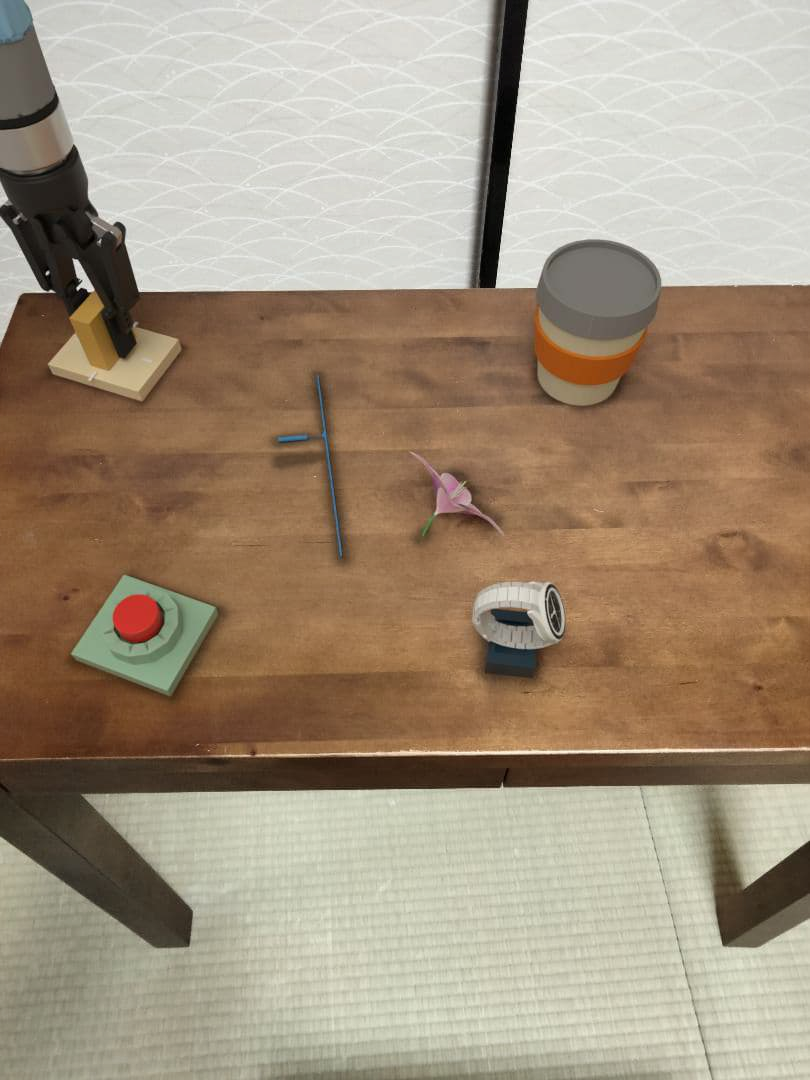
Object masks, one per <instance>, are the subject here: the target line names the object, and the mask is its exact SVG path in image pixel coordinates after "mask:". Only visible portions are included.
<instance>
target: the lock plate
mask: <svg viewBox="0 0 810 1080" xmlns="http://www.w3.org/2000/svg"><path fill="white" fill-rule="evenodd" d="M138 325H139V322H138V321H134V322H133V328H134V331H135V334H136V338H135V340H136V342H137V344H136V345H135V347H134V348H133V349H132V350H131V352H130V353H129V354H128V355H127V356H126V358H125V359H122V358H119V359H118V360H117V361H116V363H115V364H114V365H113V366H112V368H111V369H110V370H109V371H107V370H104V369H101V368H97V367H94V366H91V365H90V364H89V361H88V359H87V357H86V355H85V352H84V350H83V348H82V346H81V343H80V341H79V339H78V337H77V334H76V332H75V331H74V333H73V334H72V335H71V337H70V338H69V339H68V340H67V341H66V343H64V345H63V346H62V347H61V348H60V349H59V350H58V352H57V353H56V354H55V355H54V356H53V357H52V359H51V360H49V362H48V363H47V366H48V367H49V370H50V372H51V373H52V375H54V376H58V377H61V378H64V379H67V380H70V381H73V382H78V383H80V384H83V385H87V386H90V387H92V388H93V387H94V388H97V389H100V390H104V391H107V392H109V393H113V394H116V395H120V396H123V397H126V398H129V399H132V400H136V401H139V402H143V401H144V400H145V399H146V397H147V396H148V395H149V394H150V392H151V391H152V390H153V388H154V386H155V385H156V384H157V383H158V382H159V380H160V379H161V378H162V376H163V375H164V374H165V372H166V371H167V370H168V368H169V367H170V365H172V363H173V362H174V360H175V359H176V358H177V357H178V355H179V354H180V352H181V351H182V349H183V348H182V345H181V343H180V339H179V338H176V337H173V336H169V335H165V334H163V333H162V334H161V333H158V332H154V331H152V330H148V329H145V328H140V327H138Z"/></svg>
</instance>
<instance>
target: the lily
mask: <svg viewBox="0 0 810 1080" xmlns="http://www.w3.org/2000/svg"><path fill="white" fill-rule="evenodd" d="M409 453H410V454H411V455H412V456H413V457H414V458H416V459H417V460H418V461H420V463H421V464H422V465H423V466H424V467H425V468H426V469H427V471H428V473H429V475H430V477H431V482H432V485H433V490H434V491H433V492H434V497H435V498H434V499H435V505H436V509H435V511H434V513H433V514H432V516H431V517H430V518H429V520H428V522H427V524H426V526H425V527H424V529H423V532H422V533H421V536H422V537H425V536H426V534H427V532H428V530H429V528H430V526H431V525H432V522H434V520H435V518H436V517H437V516H438V515H439V514H465V515H474V516H478V517H480V518H482V519H484V520H486V521H487V522H488V523H490V524H491V526H493V527H494V528H495V529H496V530H497V532H499V533H500V534H501V535H502V536H503V537H504V538H506V536H505V534H504V532H503V530H502V529H501V528H500V527H499V525H497V523H496V522H495V521H494V520H493V519H492V518H490V517H489V516H487V515H486V514H484V513H482V511H481V510H479V508H477V507H476V506H475V505H474V504H472V503H471V502H472V498H473V497H472V494H471V492H470V491H469V490H468V489H467V488H468V486H465V484H466V483H467V482H468V479H466V480H465V481H463V479H461V480H460V482H459V481H458V479H457V478H456V477H455V476H453V475H452V474H451V473H449V472H443V473H441V475H440V474H438V472H437V471H436V470H434V469H433V467H431V466H430V464H429V463H428V462H427V460H425V459H424V458H423V457H422V456H420V455H418V454H417V453H415V452H413V451H409ZM462 482H463V483H462Z"/></svg>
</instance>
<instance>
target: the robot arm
mask: <svg viewBox="0 0 810 1080" xmlns="http://www.w3.org/2000/svg"><path fill="white" fill-rule="evenodd" d="M39 40H40V39H39V38H38V34H37V31H36V27H35V25H34V17H33V14H32V12H31V9H30V7H29V5H28V4H27V3H26V1H25V0H0V184H1V187H2V189H3V191H4V193H5V195H6V197H7V200H6V201H5V202H4V203H3V204H1V205H0V218H1V219H2V221H3V222H4V223H5V225H7V227H8V228H9V229H10V230H11V233H12V235H13V236H14V238H15V240H16V243H17V244H18V246H19V248H20V250H21V252H22V254H23V256H24V258H25V260H26V262H27V263H28V266H29V268H30V269H31V271H32V273H33V275H34V277H35V280H36V282H37V283H38V285H39V287H40V288H41V289H42V291H44V292H47V293H48V292H50V291H52V292H54V293H55V295H56V297H57V298H58V299H59V300H61V301H62V302H63V305H64V307H65V309H66V311H67V314H68V316H69V318H70V317H71V316H72V314H73V313H74V312H75V311H76V310H77V309H78V308H79V307H80V306H81V304H82V303H83V302H84V301H85V300H86V299H87V298H88V297H89V296H90V293H89V291H88V289H87V288H84V287H79V286H80V285H81V284H82V283H83V279H81V278H79V277H78V275H77V272H76V267H75V262H74V260H77V261H78V262H79V265H80V266H81V268H82V269H83V271H84V273H85V275H86V277H87V279H88V280H89V282H90V284H91V286H92V287H93V290H95V291H96V293H97V295H98V296H99V298H100V300H101V302H102V304H103V305H104V307H105V308H104V310H103V311H102V312H101V314H102V317H103V319H104V322H105V324H106V327H107V329H108V332H109V335H110V337H111V340H112V342H113V345H114V347H115V350H116V352H117V355H118V357H119V358H122V359H125V358H126V356H127V355H128V354H129V353H130V352H131V350H132V349H133V348H134V347H135V345H136V344H137V342H136V340H135V337H134V334H133V331H132V327H133V324H134V321H133V319H132V315H131V313H130V311H131V310H132V309H133V308H134V306H135V305H136V304H137V303H138V301H140V299H141V294H140V291H139V288H138V284H137V280H136V277H135V273H134V269H133V266H132V263H131V259H130V256H129V252H128V249H127V246H126V236H127V235H126V234H127V228H126V225H124V223H122V222H120V221H115V222H114V223H113V224H110V223H109V222H107V221H105V219H102V218H101V217H100V216H99V212H98V211H97V208H96V207H95V206H94V205H93V204H92V201H90V199H89V178H88V175H87V172H86V169H85V166H84V163H83V161H82V157H81V155H80V152H79V150H78V147H77V146H76V145H75V144H74V142H75V141H74V140H75V139H74V138H73V133H72V131H71V128H70V125H69V123H68V120H67V117H66V114H65V111H64V108H63V106H62V102H61V99H60V97H59V96H58V93H57V90H56V85H55V84H54V83H53V79H52V77H51V73H50V71H49V67H48V65H47V61H46V59H45V56H44V53H43V50H42V47H41V44H40V41H39ZM47 272H48V273H47ZM78 287H79V289H77V288H78Z"/></svg>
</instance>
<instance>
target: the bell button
mask: <svg viewBox="0 0 810 1080" xmlns="http://www.w3.org/2000/svg"><path fill="white" fill-rule="evenodd" d="M112 619H113V624H114V626H115V627H116V629H117V630H118V632H119V634H120V635H121V636H122V637H123V638H124V639H125V640H127V641H130V642H143V641H146V640H149V639H150V638H152V637H153V636H155V635H156V634H157V632H158V631H159V630H160V628H161V625H162V621H163V618H162V614H161V611H160V609H159V608H158V606H157V604H156V602H155V601H154V600H153V599H152V598H151V597H149V596H146V595H141V594H138V595H132V596H129V597H127V598H125V599H123V600H122V601H121V602H120V603H119V604H118V605H117V606H116V608H115V609H114V612H113V617H112Z"/></svg>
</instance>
